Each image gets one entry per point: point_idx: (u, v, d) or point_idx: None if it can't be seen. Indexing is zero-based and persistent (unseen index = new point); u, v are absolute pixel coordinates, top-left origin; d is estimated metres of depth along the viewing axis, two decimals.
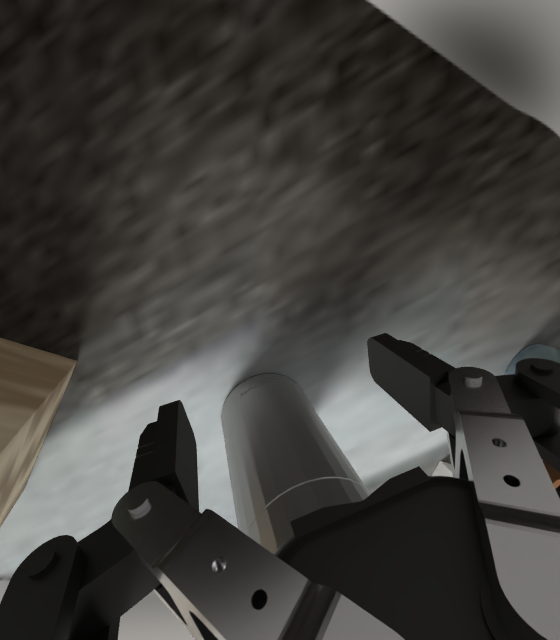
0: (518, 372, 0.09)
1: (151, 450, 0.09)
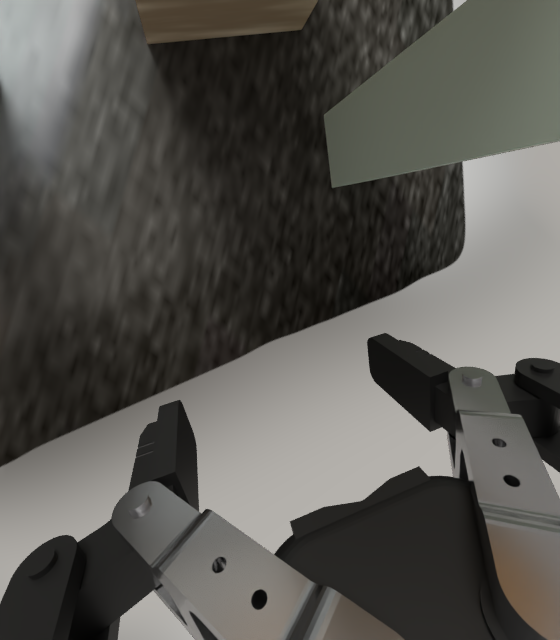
0: (518, 372, 0.09)
1: (151, 450, 0.09)
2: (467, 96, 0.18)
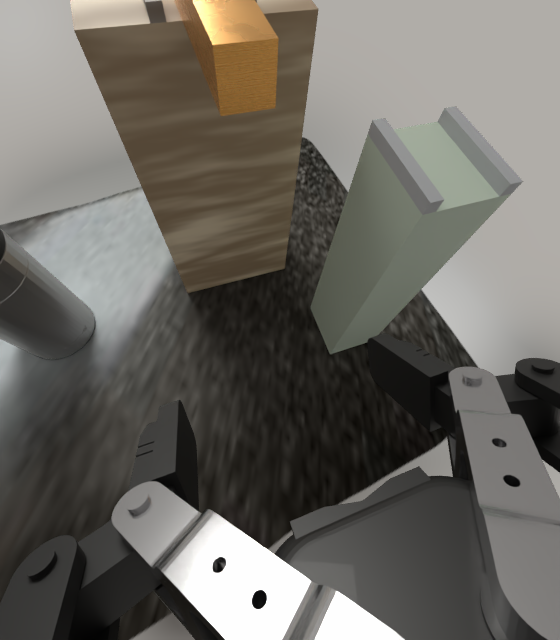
0: (518, 372, 0.09)
1: (151, 450, 0.09)
2: (364, 245, 0.27)
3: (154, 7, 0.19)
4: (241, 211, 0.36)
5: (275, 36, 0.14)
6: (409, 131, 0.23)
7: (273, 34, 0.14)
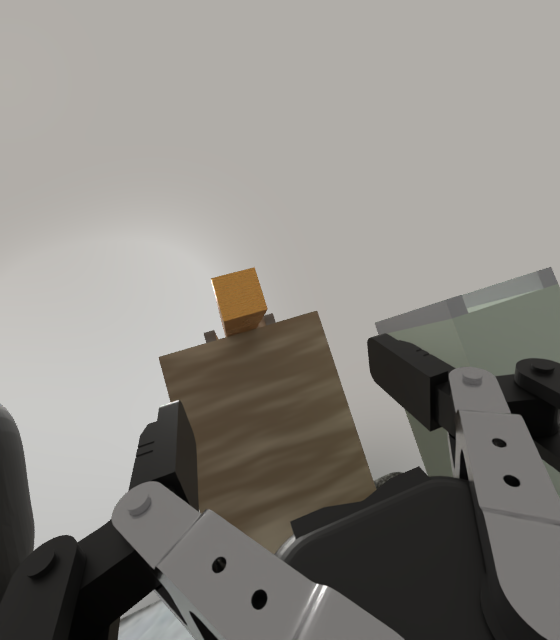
0: (518, 372, 0.09)
1: (151, 450, 0.09)
2: None
3: (209, 334, 0.29)
4: (310, 507, 0.28)
5: (253, 268, 0.21)
6: None
7: None
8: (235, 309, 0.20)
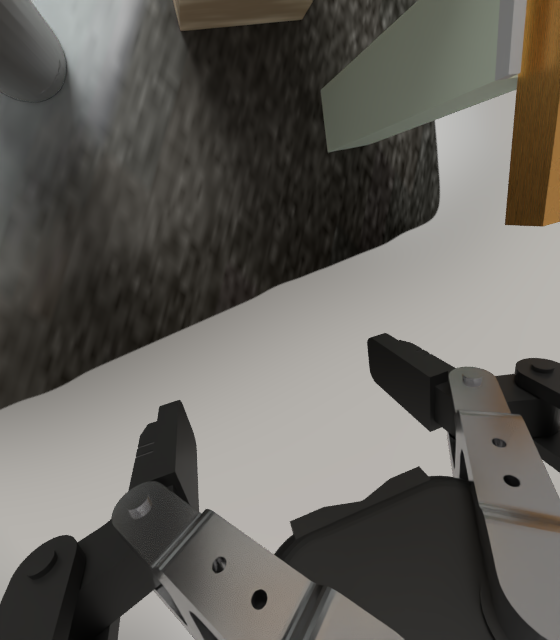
0: (518, 372, 0.09)
1: (151, 450, 0.09)
2: (422, 65, 0.27)
3: None
4: None
5: None
6: None
7: None
8: None
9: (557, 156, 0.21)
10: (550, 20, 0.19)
